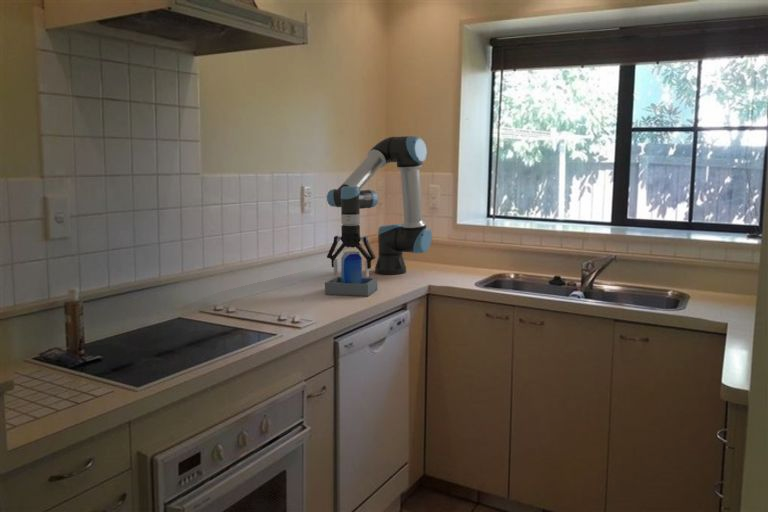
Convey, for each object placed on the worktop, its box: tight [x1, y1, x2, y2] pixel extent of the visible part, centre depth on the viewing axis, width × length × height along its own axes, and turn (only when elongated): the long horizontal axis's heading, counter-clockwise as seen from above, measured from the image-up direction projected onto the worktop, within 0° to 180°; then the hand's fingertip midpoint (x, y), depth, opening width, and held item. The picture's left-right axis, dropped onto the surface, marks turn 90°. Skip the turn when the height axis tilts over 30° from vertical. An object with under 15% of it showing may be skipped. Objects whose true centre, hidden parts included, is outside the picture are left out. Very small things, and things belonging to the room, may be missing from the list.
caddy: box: [324, 276, 378, 298], centre depth 272 cm, size 14×18×5 cm
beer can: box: [340, 250, 363, 284], centre depth 271 cm, size 8×8×16 cm
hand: (351, 275), depth 271 cm, fingers open, 13 cm apart
